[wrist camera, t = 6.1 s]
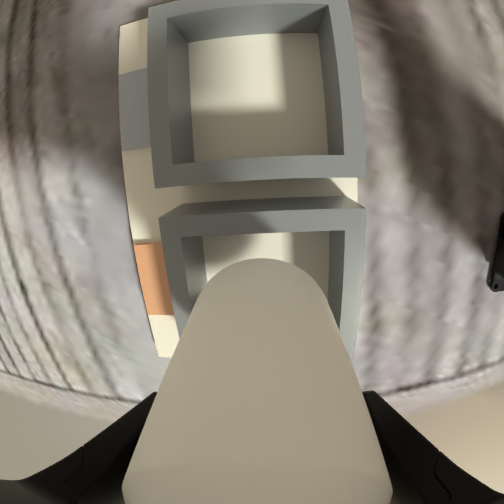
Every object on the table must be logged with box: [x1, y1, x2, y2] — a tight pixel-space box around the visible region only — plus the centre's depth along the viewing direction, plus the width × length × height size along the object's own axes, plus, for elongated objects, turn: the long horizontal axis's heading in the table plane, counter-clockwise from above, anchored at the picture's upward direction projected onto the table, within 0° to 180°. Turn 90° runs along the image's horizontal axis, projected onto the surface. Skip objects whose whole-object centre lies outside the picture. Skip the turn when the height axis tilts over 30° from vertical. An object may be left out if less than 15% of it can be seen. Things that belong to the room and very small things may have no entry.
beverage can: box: [122, 258, 393, 504], centre depth 9 cm, size 6×6×12 cm
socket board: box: [118, 0, 366, 365], centre depth 16 cm, size 14×24×5 cm, turn 4°
